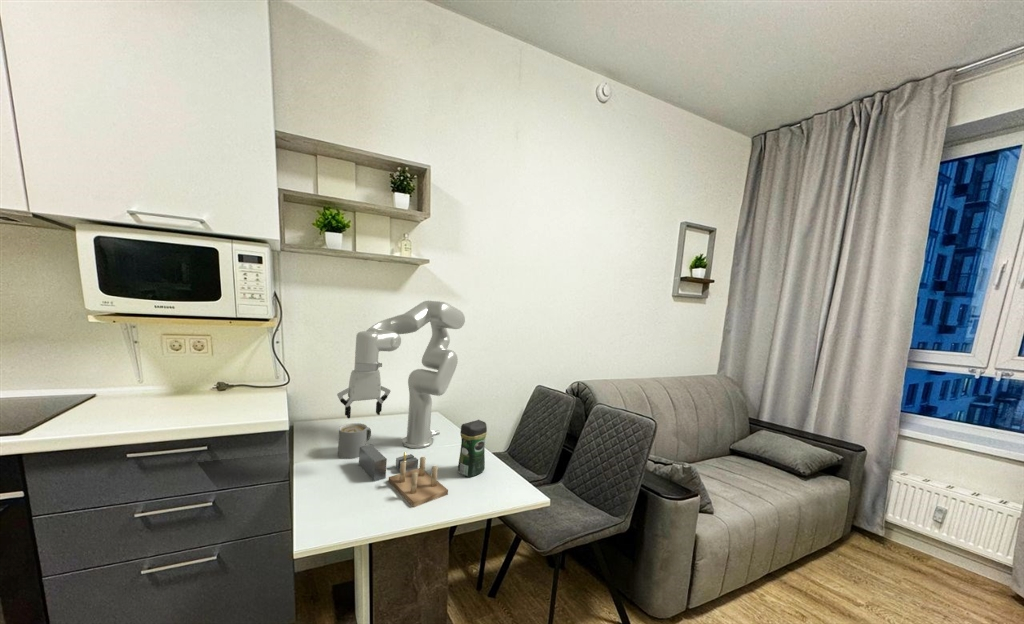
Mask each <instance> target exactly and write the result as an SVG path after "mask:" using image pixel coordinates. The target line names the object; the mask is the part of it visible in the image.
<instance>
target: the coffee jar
mask: <svg viewBox="0 0 1024 624" xmlns="http://www.w3.org/2000/svg"><path fill="white" fill-rule="evenodd" d="M487 429H488V428H487V423H486V421H484V420H480V419H477V420H472V421H469V422H465V423H463V424H461V426H460V436H461V445H460V452H459V457H458V458H459V459H458V466H457V471H458V472H459V474H460V475H462V476H463V477H469V478H473V477H474V476H477V475H479V474H481V473H483V472H484V471H485V469H486V467H485V464H486V463H485V462H486V461H485V451H486V450H485V449H486V448H485V445H486V444H485V443H486V442H485V441H486V437H487V432H488V430H487Z"/></svg>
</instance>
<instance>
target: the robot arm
mask: <svg viewBox="0 0 1024 624" xmlns="http://www.w3.org/2000/svg"><path fill="white" fill-rule="evenodd" d="M428 323H430V328H431V337H430V340H429V342H428V344H427V346H426V348H425V351H424V353H423V355H422V356H421V357H422V358H421V364H422V366H423V367H425V368H428V369H425V368H424V369H423V368H417V369H414V370H412V371H411V372H410V373H409V376H408V378H407V385H408V387H407V388H408V392H409V393H408V394H409V397H408V398H409V399H408V400H409V402H408V414H407V430H406V436H405V437H404V438H403V439H402V445H403V446H404V447H407V448H410V449H423V448H427V447H430V446H431V445H433V443H434V439H433V438H434V437H436V436H440V434H441V432H440V430H435V429H431V423H432V422H431V420H432V407H433V401H432V396H437V397H441V396H442V395H444V394H445V393H446V391H447V390H448V389H449V386H450V383H451V381H452V378H453V377H454V375H455V371H456V369H457V366H458V354H457V353H456V352H455V351H454V350H452V349H448V347H449V345H450V343H451V342H450V341H451V339H450V335H449V332H448V330H447V329H449V330H459V329H461V328H463V326H464V325H465V323H466V317H465V314H464V312H463V311H462V310H460V309H458V308H457V307H454V306H453V305H452V304H449V303H448V302H444V301H440V300H439V301H436V300H424V301H422V302H420V303H418V304H417V305H415V306H414V307H413V308H411V309H409V310H408V311H406V312H404V313H402V314H398V315H395V316H392V317H389V318H386V319H383V320H381V321H379V322H377V323H374V324H373V325H372V326H370V327H369V328H367V329H366V330H364V331H363V330H362V331H359V332H358V333H356V337H355V351H354V352H355V353H354V370H353V369H352V370H351V372H350V375H349V381H348V387H347V388H345V389H344V390H341V391H340V392H338V393H337V394H336V396H337V398H338V401H340V403H341V404H343V406H344V416H346V417H347V419H351V415H352V414H351V411H352V409H351V408H352V407H351V405H352V403H354V402H357V401H358V402H359V401H370V400H377V401H376V403H375V404H376V405H375V414H376V415H377V416H380V414H381V412H382V407H383V404H384V401H386V400H387V399H388V397H389V396H390V394H391V389H389V388H388V387H385V386H382V382H381V371H380V369H379V368H382V367H383V363H382V362H379V352H394V351H396V350H397V349H398V348H399V347H400V346H401V344H402V338H401V336H400V335H404V334H405V335H406V334H411V333H412V334H413V333H416V332H418V331H419V330H420V329H421V328H423V327H424V326H425V325H427V324H428ZM430 369H431V370H430ZM434 370H435V371H434ZM381 391H382V392H384V394H382V396H381ZM346 394H347V397H348V398H347V399H345V398H344V396H345V395H346Z"/></svg>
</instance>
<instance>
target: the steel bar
mask: <svg viewBox="0 0 1024 624" xmlns="http://www.w3.org/2000/svg"><path fill="white" fill-rule="evenodd" d="M387 461H388V458H387V457H385V456H384V454H383V453H381V452H380V451H379V450H378V449H376V447H374V446H373V445H372V444H366V446H361V447H360V451H359V457H358V466H359V467H360V469H361V470H362V471H363V472H364V473H365V474H366V475H367V476H368V477H369V478H370V479H371V480H372V481H373V482H374V483H375V482H377V481H382V480H384V479H386V476H387Z"/></svg>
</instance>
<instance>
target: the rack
mask: <svg viewBox="0 0 1024 624" xmlns="http://www.w3.org/2000/svg"><path fill="white" fill-rule="evenodd" d="M437 479H438V466H437V465H434V466H431V474H429V473H428V472H427V471H426V456H421V457H420V458H419V467H418V469H414V470H411V471H408V472H406V463H405V462H402V463H400V471H399V473H397V474H395V475H391V476H388V483H389V484H390V485H392V487H393V488H394V489H395V490H396V491H397V492H398V493H399V494H400V495H401V496H402V497H403V498H404V499H405V500H406V501H407V502H408V503H409V504H410V505H411V507H413V508H415V507H418V506H420V505H423V504H427V503H428V502H432V501H434V500H436V499H439V498H442V497H445V496H447V495H448V494H449V489H447V488H446V487H445V486H444V485H443V484H441V483H440V482H439V481H438V480H437Z"/></svg>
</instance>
